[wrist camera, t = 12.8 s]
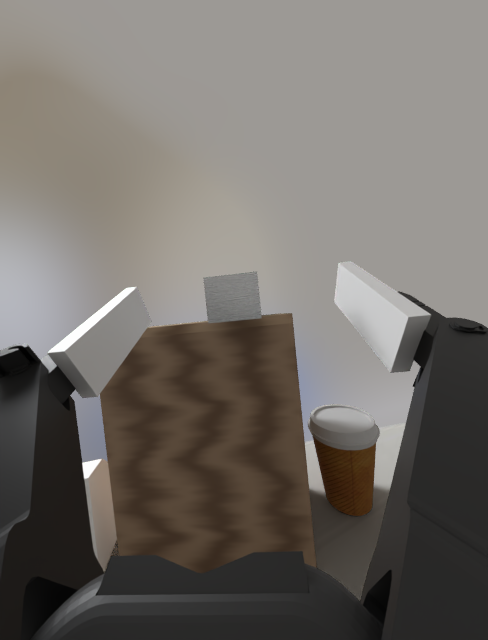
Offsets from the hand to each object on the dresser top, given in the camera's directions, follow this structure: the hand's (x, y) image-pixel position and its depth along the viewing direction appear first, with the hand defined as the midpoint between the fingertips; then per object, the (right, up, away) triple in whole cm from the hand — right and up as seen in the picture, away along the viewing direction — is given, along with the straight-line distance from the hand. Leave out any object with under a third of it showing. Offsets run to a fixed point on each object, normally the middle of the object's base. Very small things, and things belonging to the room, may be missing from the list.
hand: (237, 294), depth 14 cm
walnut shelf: (-2, -30, +15) cm, 34 cm away
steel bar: (+1, -1, +11) cm, 11 cm away
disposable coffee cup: (+16, -28, +17) cm, 37 cm away
